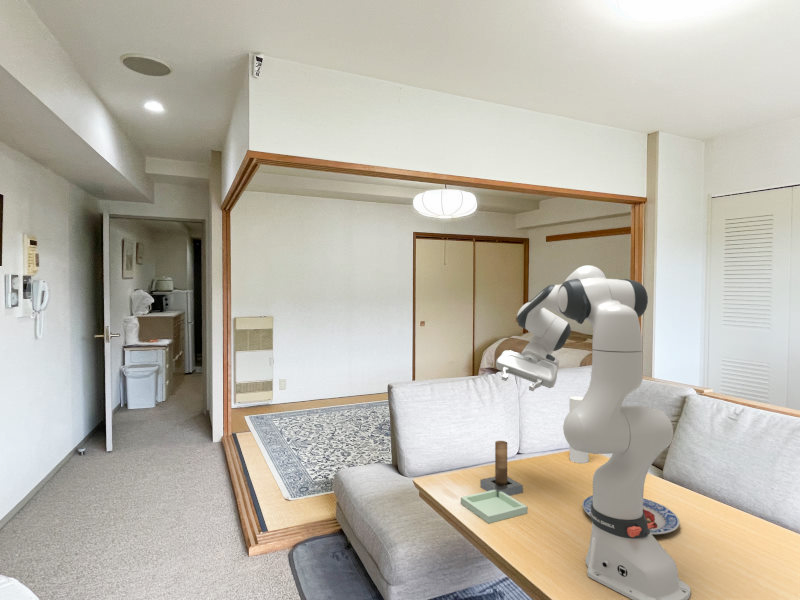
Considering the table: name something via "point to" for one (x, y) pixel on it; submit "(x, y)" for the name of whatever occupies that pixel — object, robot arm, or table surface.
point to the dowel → (501, 463)
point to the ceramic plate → (650, 516)
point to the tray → (493, 506)
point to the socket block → (508, 489)
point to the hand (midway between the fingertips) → (517, 384)
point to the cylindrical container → (574, 455)
